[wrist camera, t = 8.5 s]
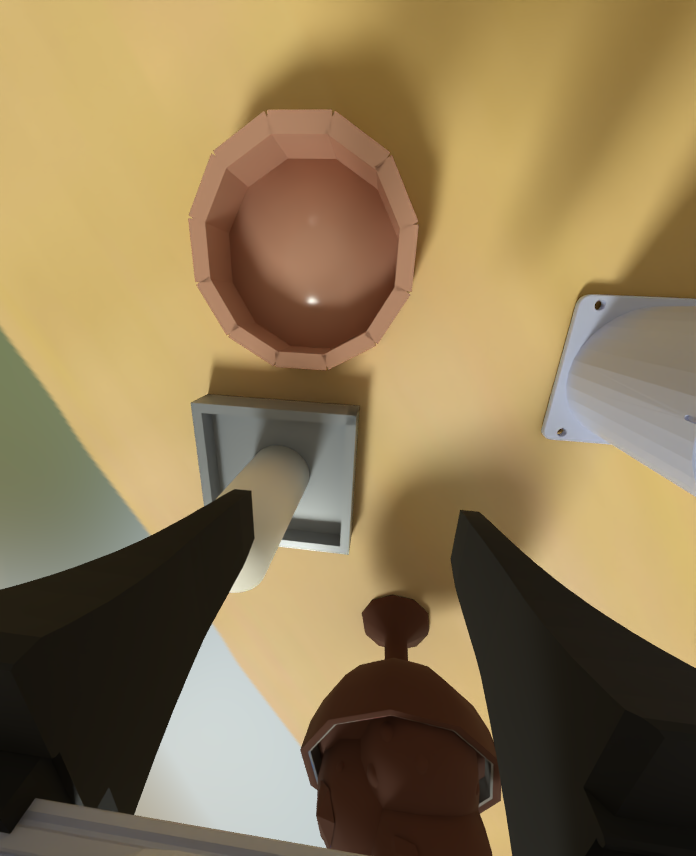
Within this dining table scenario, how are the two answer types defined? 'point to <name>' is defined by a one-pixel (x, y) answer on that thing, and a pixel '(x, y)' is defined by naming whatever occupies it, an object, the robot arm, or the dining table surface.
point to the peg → (269, 505)
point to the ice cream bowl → (400, 752)
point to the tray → (298, 430)
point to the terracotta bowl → (303, 238)
